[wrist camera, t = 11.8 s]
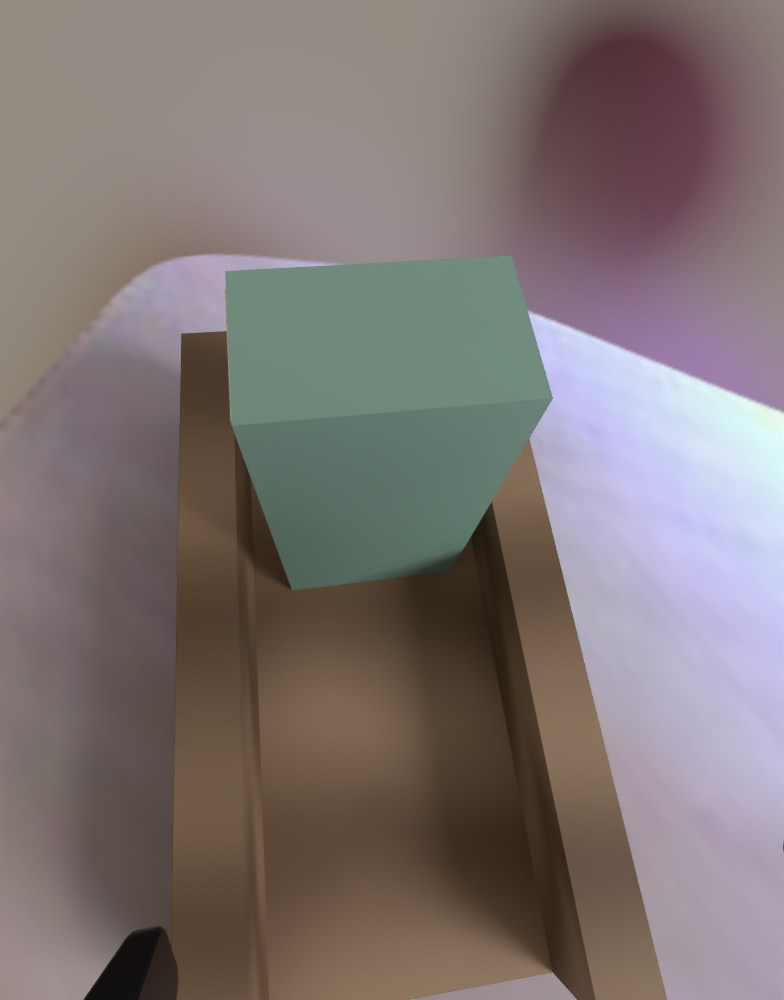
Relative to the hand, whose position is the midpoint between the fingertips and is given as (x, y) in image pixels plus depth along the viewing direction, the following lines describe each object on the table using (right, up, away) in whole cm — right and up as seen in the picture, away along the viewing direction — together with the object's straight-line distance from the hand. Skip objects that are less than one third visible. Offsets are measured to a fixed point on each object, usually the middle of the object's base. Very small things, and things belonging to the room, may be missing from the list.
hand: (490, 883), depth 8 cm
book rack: (-2, +1, +10) cm, 11 cm away
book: (-2, +4, +11) cm, 12 cm away
